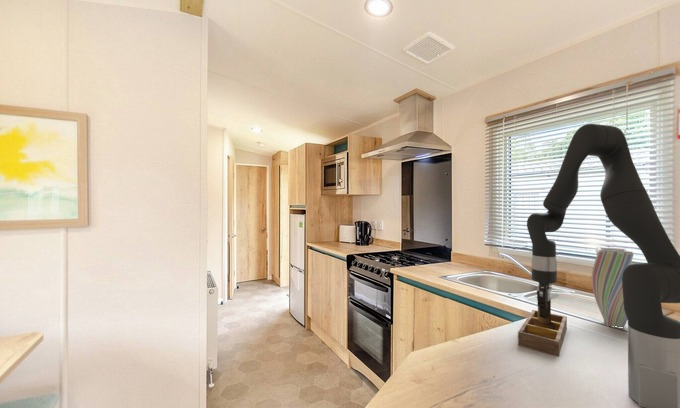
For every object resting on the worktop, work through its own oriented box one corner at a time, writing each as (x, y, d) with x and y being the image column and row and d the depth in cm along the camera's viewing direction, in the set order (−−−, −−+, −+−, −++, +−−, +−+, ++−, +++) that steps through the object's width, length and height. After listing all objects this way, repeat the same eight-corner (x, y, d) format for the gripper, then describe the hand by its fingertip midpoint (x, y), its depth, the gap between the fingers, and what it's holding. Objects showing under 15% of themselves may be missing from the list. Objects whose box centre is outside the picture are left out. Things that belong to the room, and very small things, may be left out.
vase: (632, 323, 116) (632, 248, 116) (643, 336, 105) (643, 253, 105) (588, 316, 124) (588, 245, 124) (594, 327, 112) (593, 249, 112)
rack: (558, 356, 91) (558, 342, 91) (518, 345, 98) (518, 331, 98) (566, 328, 111) (566, 316, 111) (532, 320, 119) (532, 309, 119)
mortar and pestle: (534, 331, 103) (534, 281, 103) (532, 325, 109) (531, 277, 109) (557, 335, 100) (557, 283, 100) (553, 328, 106) (553, 279, 106)
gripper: (554, 273, 97) (554, 324, 97) (559, 266, 108) (559, 312, 107) (528, 269, 102) (528, 318, 102) (534, 263, 113) (535, 308, 112)
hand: (544, 315), depth 105 cm, fingers closed on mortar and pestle, 4 cm apart
